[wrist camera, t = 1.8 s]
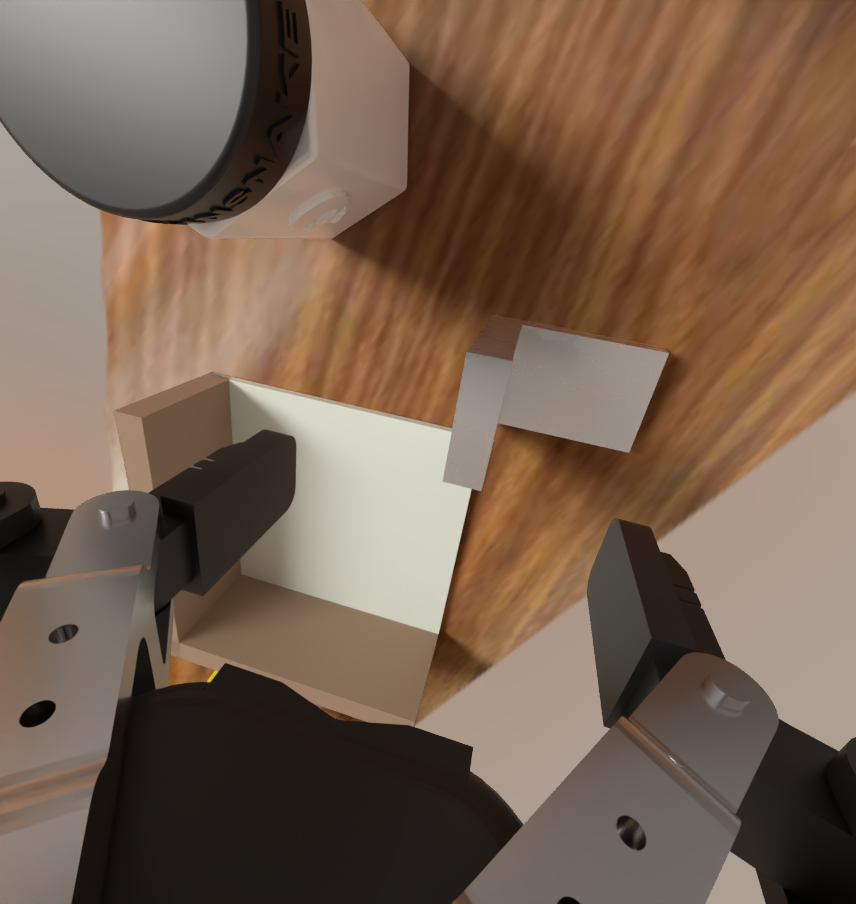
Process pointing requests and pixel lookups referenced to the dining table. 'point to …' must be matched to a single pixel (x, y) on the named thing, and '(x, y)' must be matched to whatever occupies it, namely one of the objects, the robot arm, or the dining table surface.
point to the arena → (316, 543)
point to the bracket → (548, 390)
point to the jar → (210, 110)
